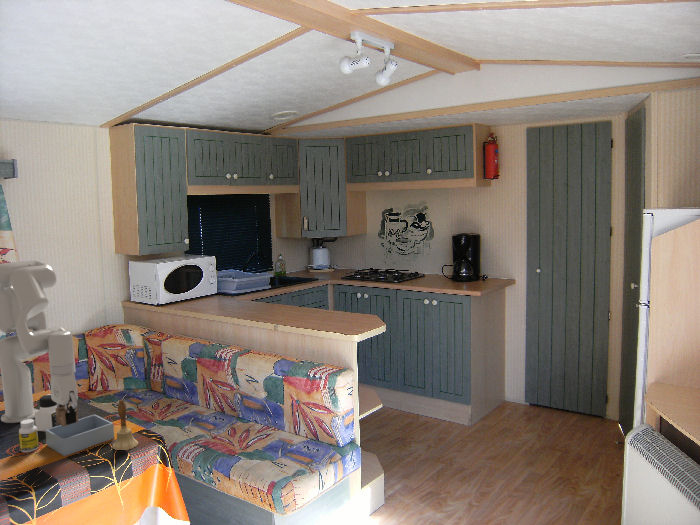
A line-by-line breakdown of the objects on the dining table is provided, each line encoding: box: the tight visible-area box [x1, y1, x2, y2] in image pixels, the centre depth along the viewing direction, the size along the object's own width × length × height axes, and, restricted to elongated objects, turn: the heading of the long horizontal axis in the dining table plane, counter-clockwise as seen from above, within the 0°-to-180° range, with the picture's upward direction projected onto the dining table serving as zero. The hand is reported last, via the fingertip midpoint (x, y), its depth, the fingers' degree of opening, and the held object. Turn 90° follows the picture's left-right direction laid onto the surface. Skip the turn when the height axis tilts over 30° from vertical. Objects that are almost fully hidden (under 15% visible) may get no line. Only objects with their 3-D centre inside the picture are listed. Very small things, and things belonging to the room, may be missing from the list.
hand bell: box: [111, 399, 139, 451], centre depth 199 cm, size 8×8×16 cm
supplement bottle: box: [18, 418, 39, 453], centre depth 198 cm, size 5×5×10 cm
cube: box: [55, 404, 79, 426], centre depth 199 cm, size 5×5×5 cm
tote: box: [44, 413, 115, 457], centre depth 203 cm, size 13×17×6 cm
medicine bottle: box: [34, 393, 60, 432], centre depth 215 cm, size 7×7×12 cm
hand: (67, 420), depth 199 cm, fingers closed on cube, 5 cm apart
